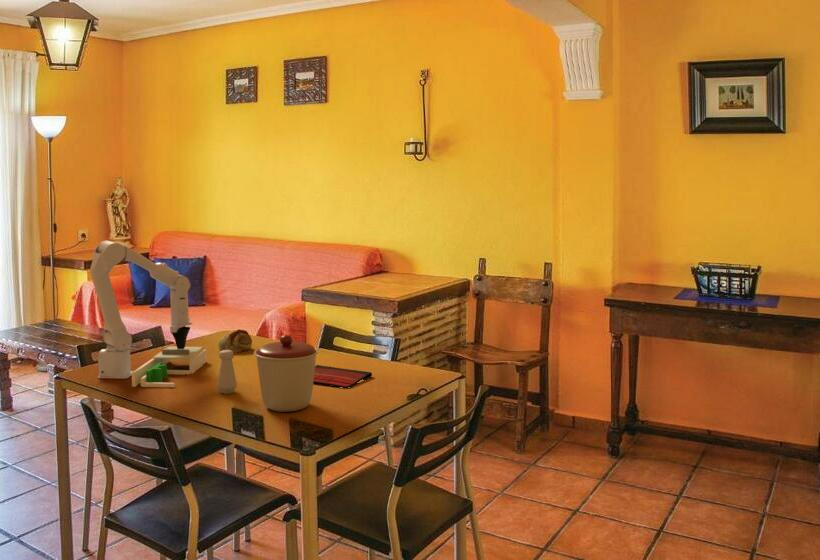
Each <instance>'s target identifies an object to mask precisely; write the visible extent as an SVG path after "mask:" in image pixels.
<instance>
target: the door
mask: <svg viewBox="0 0 820 560" xmlns="http://www.w3.org/2000/svg"><path fill="white" fill-rule="evenodd" d="M202 350H204V346H185V348H184V349H177V346H176V345H175V346H173V345H172V346H170V345H169V346H167V347H166V348H162V349H161V351H160V352H158V353H157V354H155V355H154V356H153V357H152V358H153V359H170V360H186V361H187V360H188V361H189V360H191V359H192V358H193V357H194V356H196V355H197V354H198V353H199V352H201V351H202Z"/></svg>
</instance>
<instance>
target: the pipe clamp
mask: <svg viewBox="0 0 820 560" xmlns="http://www.w3.org/2000/svg"><path fill="white" fill-rule="evenodd" d="M167 370H168V365H167V364H166V365H162V362H159V363H157V364H156V365H154V366H153V367H151V368H150V369H149V370H147V371H146V382H159V383H163V379H162V378H165V379H168V374H167Z"/></svg>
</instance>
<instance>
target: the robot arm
mask: <svg viewBox="0 0 820 560" xmlns="http://www.w3.org/2000/svg"><path fill="white" fill-rule="evenodd" d="M121 261H123V262H132V263H133V264H135V265H136V266H139V267H141V268H142V269H144V270H146V271H148V272H149V276H150V278H152V279H154V280H155V281H157V282H159V283H160V284H162V285H163V286H166V287H167V288H168V289H169V291H170V292H169V293H170V326H169V332H170V333H171V335H172V337H173V338H174V341H175V346H177V349H184V348H185V347H186V343H187V337H188V335H189V332H190V331H191V326H192V325H193V321H190V320H191V319H190V315H189V294H188V293H189V290H190V289H191V282H190V280H189V278H188V277H187V276H185V275H182V274H179V273H180V272H179V271H178V270H174V269H172V268H170V267H169V266H168V264H167V263H166V262H153V261H152V260H150V259H148V258H147V257H145V256H144V255H142V254H141V253H139V252H137V251H136V250H134V249H133V248H130V247H128V246H126V245H123V244H121V243H120V242H115V241H111V240H103V241H101V242H100V243H99V244H98V245H97V246H96V247H95V248H94V249H93V257H92V261H91V265H90V268H89V269H90V270H89V271H90V276H91V279H92V282H93V286H94V289H95V293H96V296H97V300H98V304H99V307H100V310H101V315H102V318H103V321H104V323H103V326H102V327H103V330H104V331H103V335H102V336H103V342H104V343H105V344H106V348H102V349H100V350H99V352H98V355H97V356H98V357H97V364H98V376H97V378H98V379H118V380H119V379H123V380H124V379H128V378H130V377H132V372H133V371H134V370H132V369H131V368H132V363H131V345H132V342H133V338H132V335H131V334H130V332H128V330H127V327H126V325H125V323H124V321H122V318H121V317H122V316H121V313H120V311H119V310H120V309H119V307H118V303H117V299H116V295H115V291H114V289H113V285H112V281H111V277H110V272H111V271H112V270H113V268H114V267H115V266H117V265H118V264H120V263H121Z"/></svg>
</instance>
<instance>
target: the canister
mask: <svg viewBox="0 0 820 560" xmlns="http://www.w3.org/2000/svg"><path fill="white" fill-rule="evenodd" d="M318 354H319V348H317V347H315V346H314V345H312V344H310V343H307V342H303V341H295V340H293V337H292V335H289V334H283V335H281V336H280V338H279V341H275V342H269V343H266V344H262V345H261V346H260V347H258V348H256V349H255V350H254V352H253V355H254V356H255V357H256V361H257V364H256V365H257V370H258V371H257V372H258V376H259V377H258V379H259V385H260V391H261V398H262V402H263V404H264V406H265V408H267V409H269V410H271V411H274V412H282V413H284V412H285V413H289V412H295V411H299V410H303V409H305V408H307V407H308V406H309V404H310V402H311V400H312V396H313V395H312V394H313V390H314V384H313V381H314V371H315V366H316V361H317V360H316V358H317V355H318Z"/></svg>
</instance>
